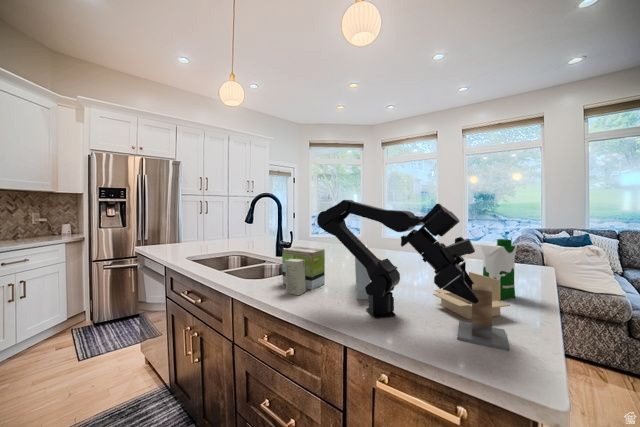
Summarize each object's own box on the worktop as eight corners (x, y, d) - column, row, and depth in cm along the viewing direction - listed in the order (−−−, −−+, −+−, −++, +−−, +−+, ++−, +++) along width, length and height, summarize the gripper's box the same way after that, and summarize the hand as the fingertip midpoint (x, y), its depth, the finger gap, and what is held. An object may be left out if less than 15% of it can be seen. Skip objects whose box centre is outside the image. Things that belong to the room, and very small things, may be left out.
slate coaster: (457, 339, 62) (457, 336, 62) (459, 323, 71) (459, 321, 71) (509, 350, 57) (509, 347, 57) (504, 331, 66) (504, 329, 66)
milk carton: (501, 301, 87) (501, 241, 87) (477, 293, 96) (477, 238, 96) (520, 298, 90) (520, 239, 90) (494, 290, 99) (495, 237, 98)
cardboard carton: (468, 325, 70) (468, 287, 70) (426, 303, 86) (426, 272, 86) (510, 319, 73) (510, 283, 73) (462, 299, 90) (462, 269, 90)
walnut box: (471, 335, 63) (472, 289, 63) (472, 327, 67) (472, 284, 67) (491, 339, 61) (492, 291, 61) (490, 330, 65) (490, 286, 65)
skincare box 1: (306, 292, 98) (305, 259, 98) (299, 295, 94) (298, 261, 94) (292, 289, 101) (292, 258, 101) (285, 292, 98) (284, 260, 98)
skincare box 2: (355, 282, 111) (355, 244, 111) (368, 282, 110) (368, 245, 110) (355, 299, 90) (354, 253, 90) (371, 300, 90) (371, 253, 89)
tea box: (281, 284, 109) (281, 248, 108) (296, 279, 117) (296, 245, 117) (312, 290, 101) (311, 251, 100) (325, 284, 109) (325, 248, 109)
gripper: (450, 229, 59) (510, 286, 53) (455, 225, 75) (502, 268, 69) (413, 261, 63) (465, 317, 57) (425, 250, 79) (467, 293, 74)
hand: (477, 296), depth 64 cm, fingers open, 9 cm apart
